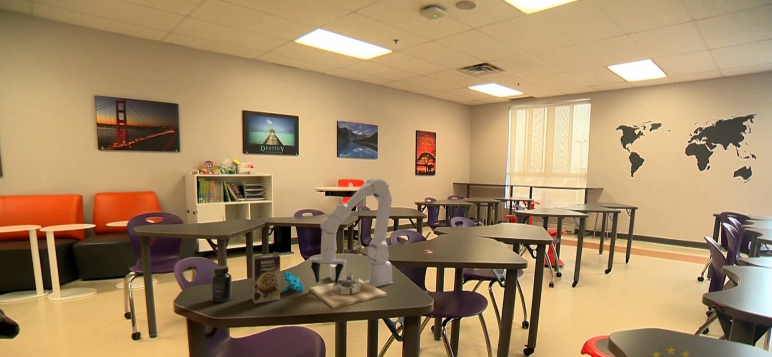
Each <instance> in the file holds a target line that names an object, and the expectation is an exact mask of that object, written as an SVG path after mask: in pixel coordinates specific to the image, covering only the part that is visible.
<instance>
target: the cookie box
mask: <svg viewBox="0 0 772 357" xmlns="http://www.w3.org/2000/svg"><path fill="white" fill-rule="evenodd" d="M280 299H281V255H280V254H278V253H276V252H275V253H268V254H267V253H266V254H257V255H256V254H255V255H254V254H253V255H252V301H253V303H254V304H261V303H267V302H274V301H279V300H280Z"/></svg>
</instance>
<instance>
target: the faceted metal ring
mask: <svg viewBox="0 0 772 357" xmlns="http://www.w3.org/2000/svg"><path fill="white" fill-rule="evenodd" d="M353 279H354V271H349V272H347V274H346V280H351V281H352V284H351V286H350V287H343V281H344V280H345V279H344V280H343V279H338V283H335V282H333V283H334V284H333V285H332V291H333V292H335V293H338V294H339V293H340V294H350V293H351V294H354V293H357V292H360V291H361V289H362V283H361V282H359V280H358V278H357V279H355V280H353Z"/></svg>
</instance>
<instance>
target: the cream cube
mask: <svg viewBox="0 0 772 357" xmlns="http://www.w3.org/2000/svg"><path fill="white" fill-rule="evenodd" d="M328 265H329V270H328V272H329V273H328V274H329V278H330V280H331V281H333V282H335V276H336V273H335V266H337V265H333V264H328ZM346 266H347V265H345V266H343V268H342V270H341V273H340V276H339V279H343V280H347V274H346V273H347V272H346V271H347V270H346Z"/></svg>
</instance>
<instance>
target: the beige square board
mask: <svg viewBox="0 0 772 357" xmlns="http://www.w3.org/2000/svg"><path fill="white" fill-rule="evenodd" d="M355 279H358V280H359V282H361V283H362V289H361V291H360V292H357V293H354V294H351V293H350V294H340V293H339V294H338V293H335V292H333V291H332V285H333V284H334V283H335V282H332V283H327V284H321V285H317V286H312V287H311V286H310V288H309V291H310V292H312V293H313V294H314V295H315V296H317V297H318V298H319V299H320V300H322V301H323V302H324V303H326V304H327V305H329V306H330V307H331V308H332V309H335V308H340V307H344V306H349V305H352V304H358V303H362V302H365V301H370V300H374V299H378V298H379V299H380V298H382V297H386V296H387V295H388V294H387V292H385V291H383V290H381V289H379V288H377V287H374V286H372V285H370V284H368V283H366V282H365V281H364V280H362V279H360V278H355V277H353V280H355ZM351 284H352V281H351V280H347V279H344V281H343V287H350V286H351Z"/></svg>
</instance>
